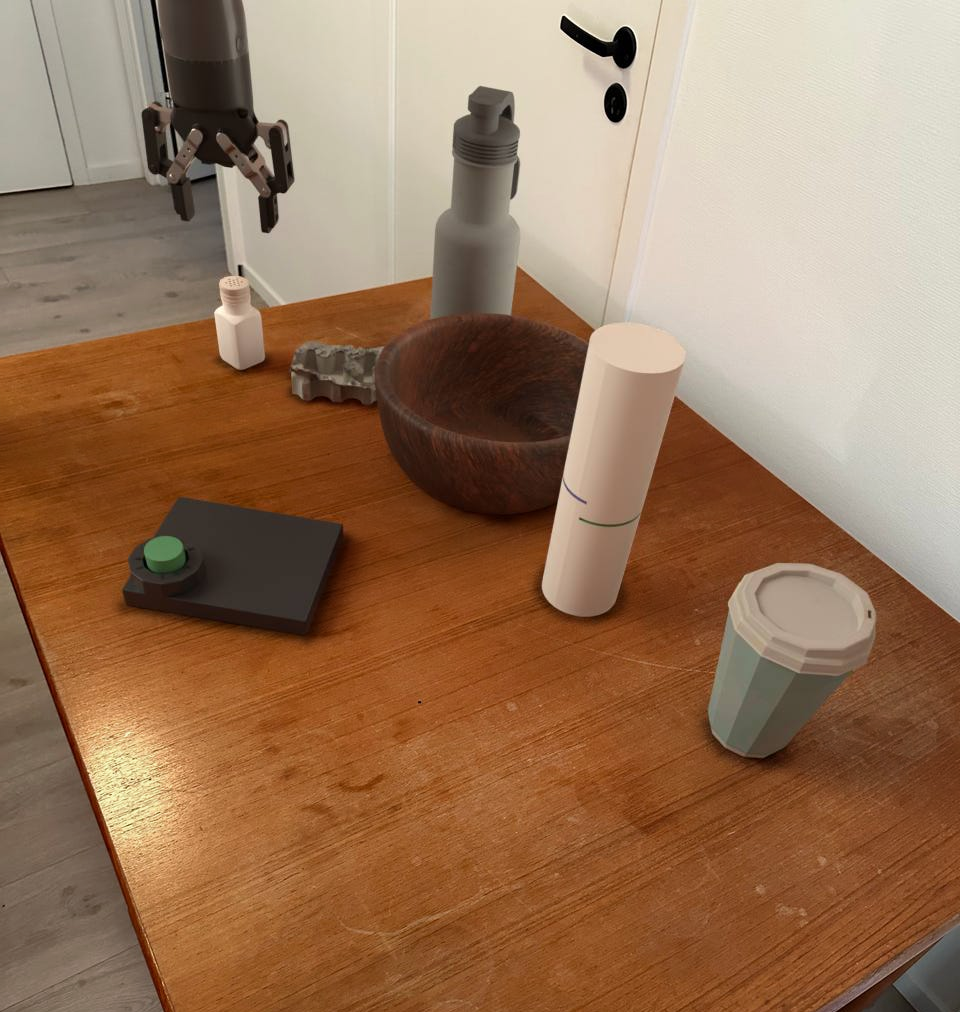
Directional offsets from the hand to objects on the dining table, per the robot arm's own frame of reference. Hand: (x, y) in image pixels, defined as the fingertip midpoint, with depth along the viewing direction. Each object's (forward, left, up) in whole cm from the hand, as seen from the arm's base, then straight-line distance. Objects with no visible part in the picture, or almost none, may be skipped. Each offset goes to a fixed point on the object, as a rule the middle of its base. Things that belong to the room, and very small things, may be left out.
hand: (227, 224), depth 94 cm
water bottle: (+25, +12, -16) cm, 32 cm away
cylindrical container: (+42, -29, -16) cm, 53 cm away
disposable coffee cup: (+57, -42, -16) cm, 73 cm away
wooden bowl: (+31, -11, -16) cm, 37 cm away
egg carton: (+12, -2, -16) cm, 20 cm away
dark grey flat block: (+11, -34, -16) cm, 39 cm away
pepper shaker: (0, 0, -16) cm, 16 cm away
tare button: (+6, -38, -13) cm, 40 cm away
